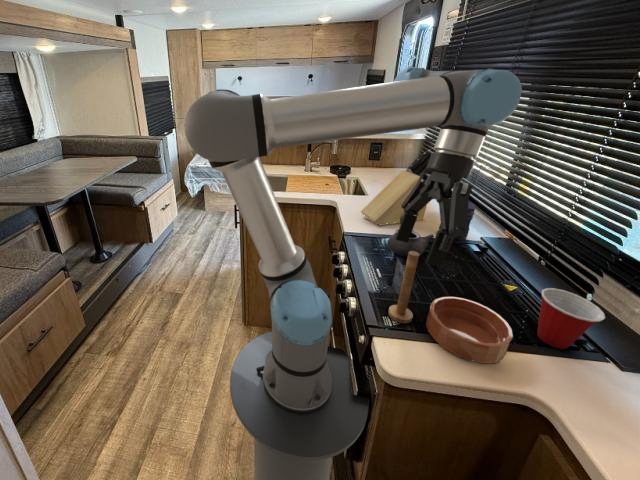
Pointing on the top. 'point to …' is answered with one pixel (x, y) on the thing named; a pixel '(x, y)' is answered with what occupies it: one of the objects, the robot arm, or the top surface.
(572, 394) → the top surface
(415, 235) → the teapot
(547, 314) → the plastic cup
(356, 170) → the top surface
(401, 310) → the wooden pestle
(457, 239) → the storage jar
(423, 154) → the knife block
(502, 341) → the bowl
